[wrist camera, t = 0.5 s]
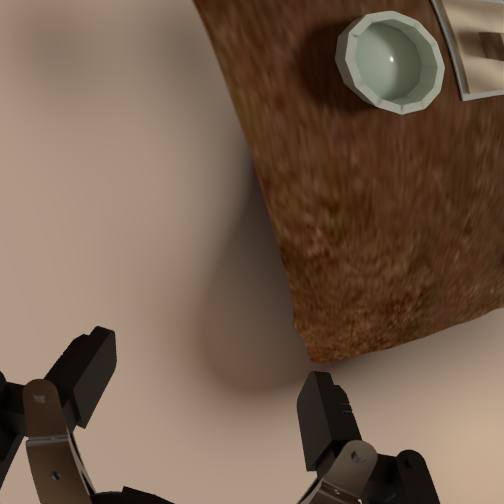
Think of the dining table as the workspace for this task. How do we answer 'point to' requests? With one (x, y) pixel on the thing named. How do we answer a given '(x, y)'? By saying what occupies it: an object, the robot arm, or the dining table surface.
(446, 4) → the lid
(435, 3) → the tray
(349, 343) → the dining table surface
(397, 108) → the bowl
